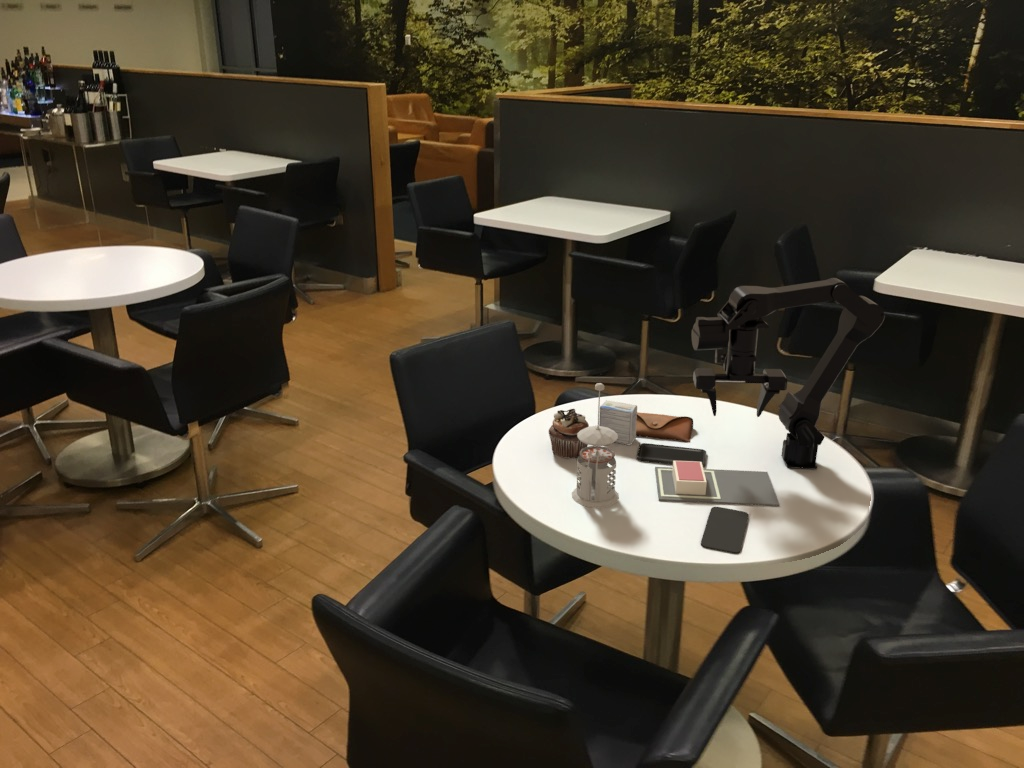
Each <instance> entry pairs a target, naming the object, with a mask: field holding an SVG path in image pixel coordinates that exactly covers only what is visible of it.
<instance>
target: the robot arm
mask: <svg viewBox="0 0 1024 768" xmlns="http://www.w3.org/2000/svg"><path fill="white" fill-rule="evenodd" d="M830 302H835V304H837V305H838V306H840V307H841V308H842V311H841V314H840V316H839V321H838V327H837V332H836V334H835V336H834V337H833V339H832V341H830V343H829V345H828V347H827V348H826V350H825V352H824V353H823V355H822V356H821V358H820V359H819V361H818V363H817V364H816V366H815V367H814V369H813V371H812V372H811V374H810V375H809V377H808V378H807V380H806V381H805V383H804V385H803V387H802V388H801V389H800V390H798V391H797V392H795V393H792V392H790V391H788V392H787V393H786V394H785V397H784V399H783V401H782V402H780V404H779V405H778V407H779V410H778V412H777V416H778V419H779V421H780V422H781V423H782V425H783V426H784V427H785V430H786V431H788V432H787V433H786V438H785V439H784V440H783V442H782V449H781V455H780V456H781V458H782V460H783V462H784V463H785V466H786V467H787V468H789V469H790V468H792V469H811V470H817V469H818V464H817V457H818V456H817V455H818V450H819V446H821V444H822V443H823V441H824V439H825V435H824V434H823V433H822V432H821V431H820V430H819V429H818V428H817V426H816V425H817V423H818V420H819V418H820V413H821V406H822V403H823V400H824V398H825V396H826V395H827V394H828V392H829V391H830V389H831V387H832V386H833V384H834V383H835V381H836V380H837V378H838V377H839V375H840V373H841V372H842V371H843V369H844V368H845V365H846V364H847V363H848V361H849V359H851V357H852V355H853V353H854V352H855V350H856V349H857V347H858V346H859V345H860V344H861V343H863V342H864V341H866V340H867V339H869V338H870V337H872V336H873V335H874V334H875V332H877V330H878V329H879V328H880V327H881V326H882V324H883V323H884V320H885V319H886V314H885V312H884V309H883V307H882V306H880V304H878V303H876V302H874V301H873V300H872V299H870V298H868V297H866V296H864V295H859V294H857V293H856V292H855V291H854V290H852V289H851V288H850V287H849V285H848V284H846V283H845V282H844V281H842V280H841V279H838V278H837V277H831V278H828V279H823V280H817V281H811V282H803V283H797V284H791V285H784V286H778V287H768V286H760V285H759V286H758V285H740V286H737V287H735V288H734V289H733V290H732V291H731V293H730V295H729V297H728V300H727V301H726V302H725V304H724V305H723V306H722V307H721V308H720V310H719V311H718V312H717V316H714V317H713V316H712V317H705V316H697V317H696V318H695V323H694V324H693V326H692V329H691V335H690V337H691V344H692V347H693V350H694V351H708V350H710V351H711V350H715V351H714V352H715V353H714V363H715V364H722V365H723V366H722V367H723V370H724V372H725V373H715V371H714V370H713V369H714V368H712V367H696V368H695V369H694V370H693V375H692V380H693V381H692V382H693V384H694V387H695V389H698V390H700V391H701V392H702V393H704V394H706V395H707V397H708V400H709V403H710V407H711V411H712V415H713V417H716V416H717V389H716V384H719V383H720V384H723V383H724V384H760V389H759V390H760V392H759V396H758V400H757V401H758V402H757V405H756V406H757V407H756V417H757V418H759V417H761V415H762V413H763V412H764V410H765V409H766V407H767V405H768V403H770V401H771V400H772V399H773V397H774V396H776V395H779V394H780V392H781V391H786V390H787V389H788V378H787V377H786V374H785V372H783V370H782V369H781V368H764V369H763V371H762V373H757V374H756V373H755V367H756V361H757V359H756V358H757V346H758V338H759V337H758V336H759V329H761V330H762V329H769V328H770V325H769V324H768V323H767V322H766V321H765V320H764V318H765V317H767V316H769V315H770V314H773V313H774V312H776V311H779V310H783V309H784V310H785V309H789V308H795V307H796V308H797V307H803V306H809V305H816V304H822V303H830ZM734 313H735V315H733V314H734ZM727 346H728V347H727ZM726 347H727V353H726Z"/></svg>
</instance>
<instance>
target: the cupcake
mask: <svg viewBox="0 0 1024 768" xmlns="http://www.w3.org/2000/svg"><path fill="white" fill-rule="evenodd" d="M587 427H590V426H589V423H588V421H587V420H586V416H585V415H584V414H580V413H577V412H576V408H570V409H568V410H557V412H555V413H554V414H553V420H552V424H551V426H550V427H549V429H548V436H549V439H550V444H551V451H552V453H553V454H555V455H557V456H558V457H561V458H565V459H566V458H567V459H575V458H578V457H579V456H580V455H579V452H580V451H581V449H583V448H585V447H589V445H587V444H585V443H583V442H581V441H580V440H579V439H578V436H577V434H578V432H579V431H580V430H582V429H585V428H587Z"/></svg>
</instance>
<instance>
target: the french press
mask: <svg viewBox="0 0 1024 768" xmlns="http://www.w3.org/2000/svg"><path fill="white" fill-rule="evenodd" d="M594 390H595V391H598V406H597V407H598V411H597V425H591V426H589V427H587V428H585V429H582V430H580V431H579V432H578V434H577V436H578V439H579V440H580V441H581V442H583V443H585V444H587V445H588V446H587V447H585V448H583V449H581V451H580V452H579V455H580V456H579V457H577V462H576V464H577V466H576V467H577V468H576V487H575V488H574V489H573V491H572V492H571V499H572V500H573V501H574V502H576V503H577V504H579V505H582V506H584V507H588V508H592V509H593V508H595V509H597V508H598V509H599V508H600V509H601V508H607V507H611V506H613V505H615V504H616V503H617V502H618V501H619V499H620V496H619V492H618V491H617V490H616V486H615V485H616V481H615V480H616V473H617V472H616V468H617V460H616V458H615V456H616V455H615V454H616V453H615V452H614V451H613V450H612V449H611V448H609V447H606V446H609V445H611V444H614V443H616V442H615V441H616V440H617V438H618V435H617V433H616V432H615V431H613V430H611V429H610V428H608V427H602V426H599V418H600V406H601V405H600V402H601V391H604V390H605V385H604V384H603V383H601V382H597V383H596V384H595V386H594ZM585 463H587V464H585ZM582 464H585V465H582ZM608 464H609V465H610V466H609V465H608Z"/></svg>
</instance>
